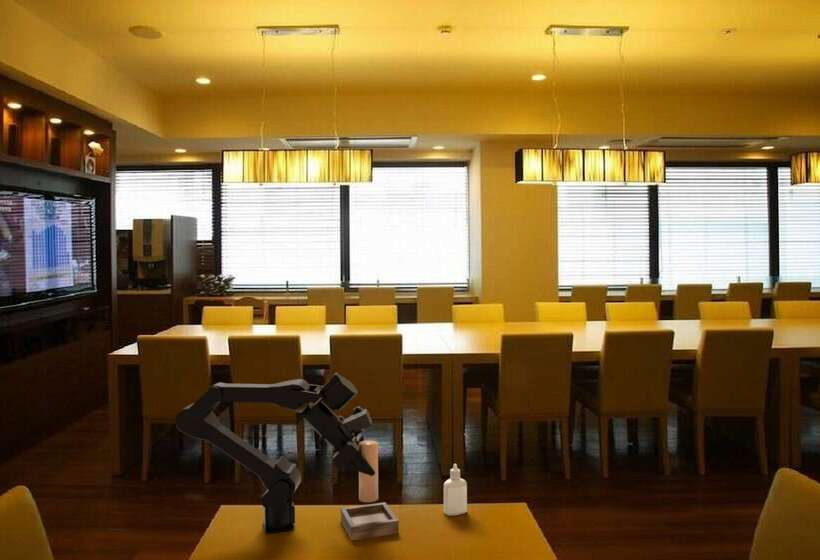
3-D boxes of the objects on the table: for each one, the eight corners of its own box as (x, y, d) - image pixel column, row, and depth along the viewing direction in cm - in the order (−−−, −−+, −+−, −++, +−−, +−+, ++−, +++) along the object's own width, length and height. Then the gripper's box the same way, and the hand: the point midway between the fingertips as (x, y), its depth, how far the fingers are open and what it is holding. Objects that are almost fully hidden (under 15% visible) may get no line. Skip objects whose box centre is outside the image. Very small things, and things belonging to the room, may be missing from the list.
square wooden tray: (351, 540, 140) (351, 527, 140) (340, 520, 151) (340, 508, 151) (398, 533, 144) (398, 520, 144) (385, 514, 154) (385, 502, 154)
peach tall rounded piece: (361, 503, 144) (361, 446, 144) (357, 496, 148) (356, 441, 148) (380, 501, 146) (380, 445, 145) (375, 494, 150) (375, 439, 149)
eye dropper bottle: (466, 517, 153) (466, 467, 152) (443, 515, 153) (442, 466, 153) (467, 509, 157) (467, 461, 156) (444, 508, 158) (444, 460, 157)
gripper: (347, 409, 137) (398, 459, 137) (354, 390, 155) (399, 434, 156) (310, 445, 137) (362, 495, 138) (322, 421, 156) (367, 466, 156)
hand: (374, 470), depth 147 cm, fingers closed on peach tall rounded piece, 4 cm apart
